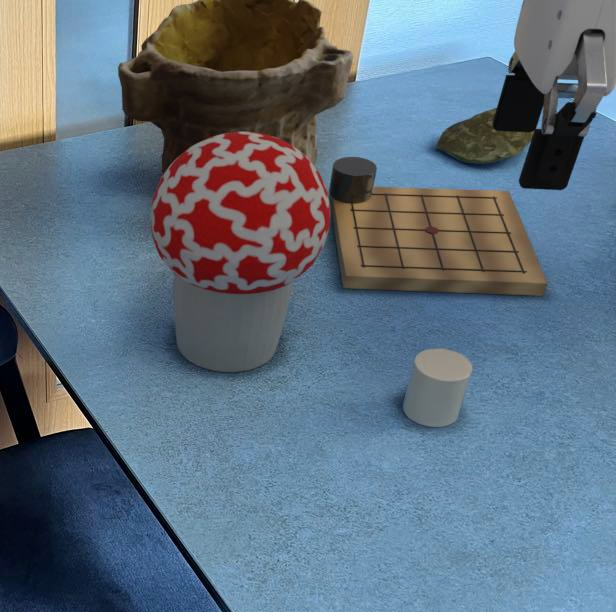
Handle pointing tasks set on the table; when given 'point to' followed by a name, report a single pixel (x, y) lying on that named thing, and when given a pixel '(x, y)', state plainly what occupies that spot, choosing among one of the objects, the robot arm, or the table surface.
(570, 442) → the table surface
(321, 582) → the table surface
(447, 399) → the beige cylinder
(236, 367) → the decorative object
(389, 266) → the board
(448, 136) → the green rock
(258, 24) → the ceramic vessel
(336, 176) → the black stone
